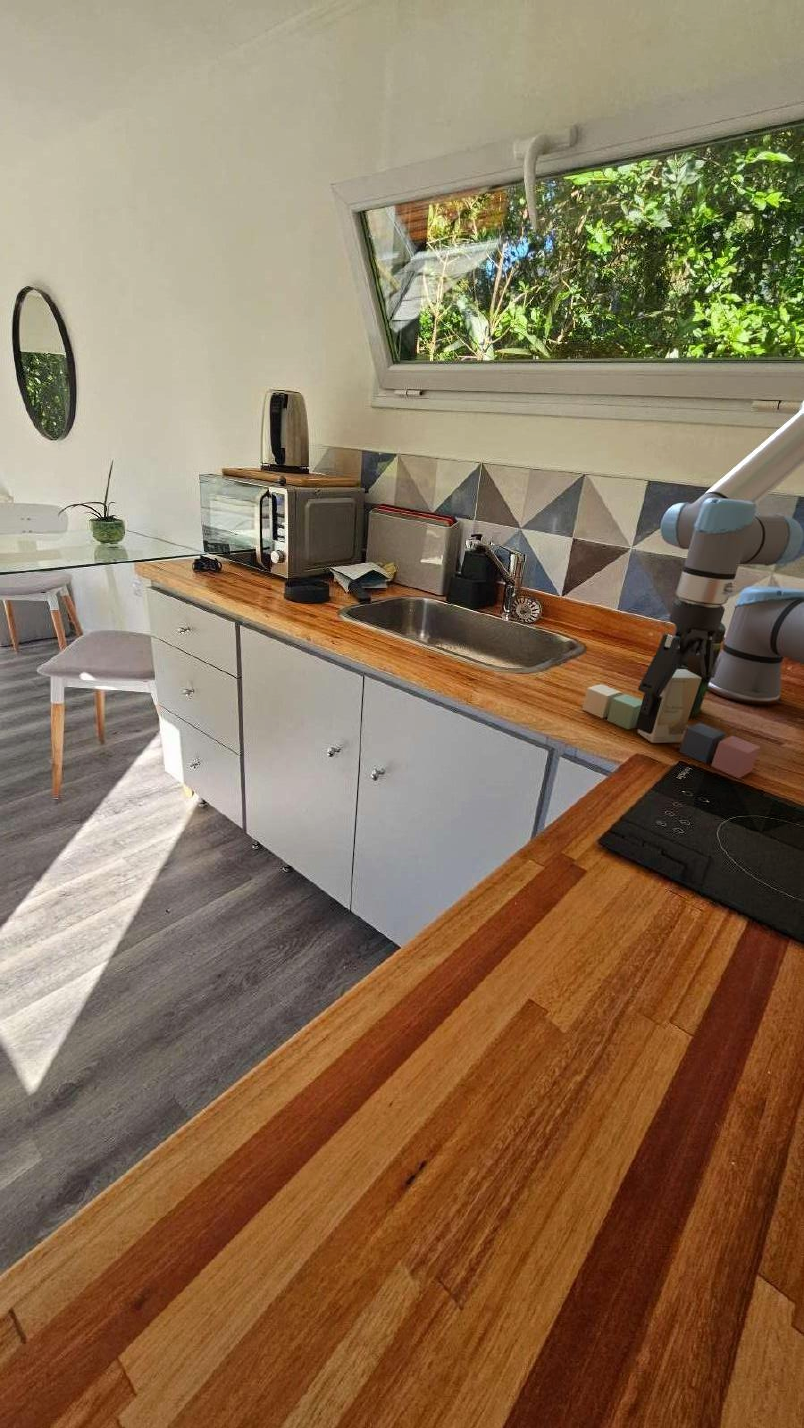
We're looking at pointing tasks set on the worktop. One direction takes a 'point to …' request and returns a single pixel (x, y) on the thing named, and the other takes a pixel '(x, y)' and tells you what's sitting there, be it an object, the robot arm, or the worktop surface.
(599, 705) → the block cream
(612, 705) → the block sage
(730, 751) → the block rose
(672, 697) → the cosmetic box
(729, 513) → the robot arm
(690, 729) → the block slate
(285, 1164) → the worktop surface
